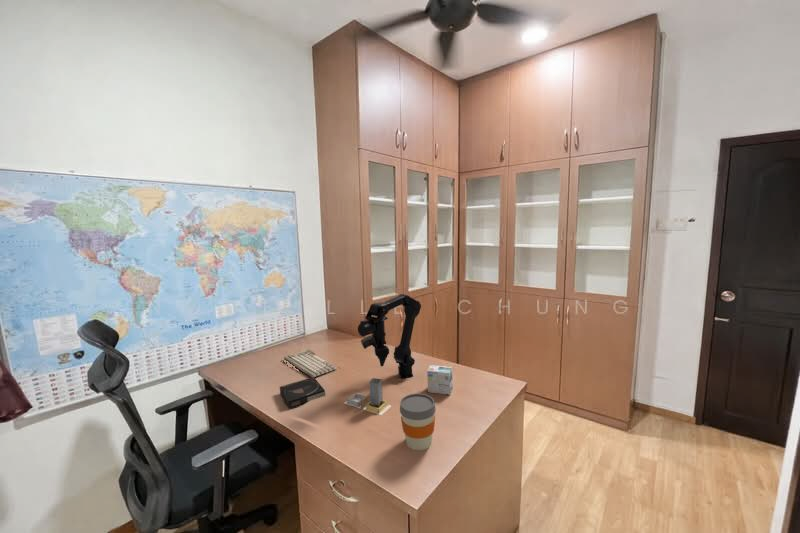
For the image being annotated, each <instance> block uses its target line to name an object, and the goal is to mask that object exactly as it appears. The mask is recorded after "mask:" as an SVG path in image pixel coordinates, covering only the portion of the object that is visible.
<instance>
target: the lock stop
mask: <svg viewBox="0 0 800 533" xmlns="http://www.w3.org/2000/svg"><path fill="white" fill-rule="evenodd" d="M382 382H383V381H382V378H374V377H373V378H371V380H369V383H368V385H369V386H368V389H369V393H370V406H373V407H376V408H379V407H380V406H381V405H383V400H384V399H383V384H382Z"/></svg>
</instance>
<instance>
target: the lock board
mask: <svg viewBox="0 0 800 533" xmlns="http://www.w3.org/2000/svg"><path fill="white" fill-rule="evenodd" d="M344 404H345V405H348V406H352V407H355V408H357V409H361V410H364V411H367V412H370V413H373V414H376V415H379V416H383V415H384V413H385V412H387V411H388V410H389V409H390V408H391V407H392V405H390V404H388V401H387V400H384V399H383V405H381V406H380V407H379V408H376V407H373V406H370V392H368V393H367V394H362V393H359V392H355V393H353V394H352V395H351V396H349V397H348V398H346V401H345V402H344Z"/></svg>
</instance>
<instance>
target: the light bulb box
mask: <svg viewBox="0 0 800 533" xmlns="http://www.w3.org/2000/svg"><path fill="white" fill-rule="evenodd" d="M426 377H427V378H426V379H427V392H428V393H431V394H438V393H439V394H440V395H446V394H448V396H451V395H452V391H453V390H454V388H453V387H454V383H453V367H452V366H443V365H434V364H430V365H429V367H428V369H427V370H426ZM439 394H438V395H439ZM450 394H451V395H450Z"/></svg>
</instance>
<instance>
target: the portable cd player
mask: <svg viewBox="0 0 800 533" xmlns="http://www.w3.org/2000/svg"><path fill="white" fill-rule="evenodd" d="M279 392H280V393H279V394H280V396H281V398H282V400H283V399H284V400H283V402H284V403H285V405H286V407H287V408H288V410H293V409H295V408H298V407H300V406H303V405H306V404H307V403H309V402H310V401H314V400H317V399H320V398H323V397H326V390H325V389H324V387H323V386H322V385H321V384H320V383H319V381H318V380H317V378H314V377H311V378H309V377H307V378H305V379H301V380H297V381H295V382H292V383H289V384H283V385H282V386H279Z"/></svg>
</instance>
